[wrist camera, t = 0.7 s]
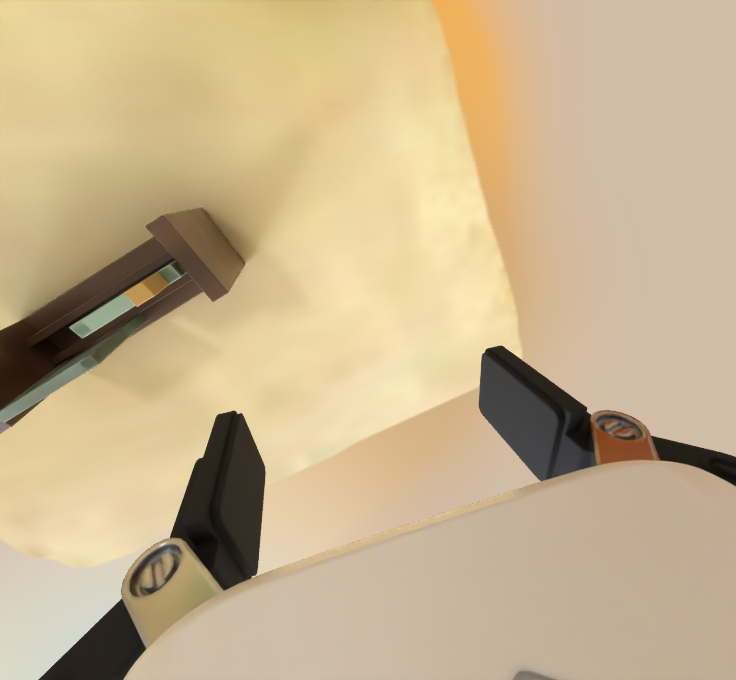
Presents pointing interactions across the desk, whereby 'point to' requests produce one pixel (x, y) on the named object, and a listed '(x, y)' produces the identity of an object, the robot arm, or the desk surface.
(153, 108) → the desk surface
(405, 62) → the desk surface
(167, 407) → the desk surface
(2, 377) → the window frame
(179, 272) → the sliding pane
